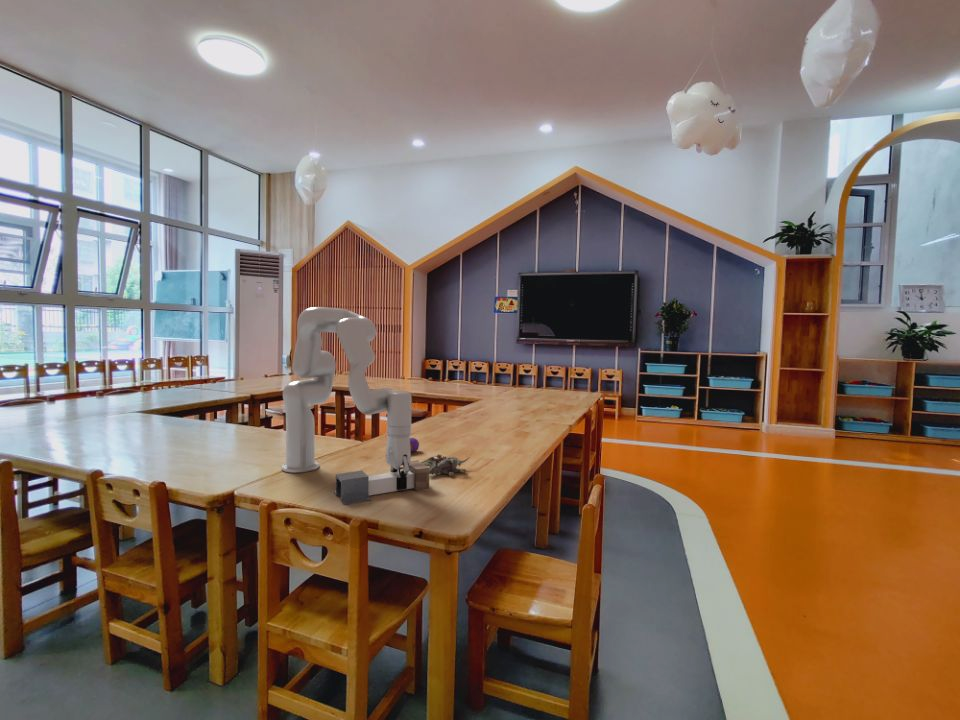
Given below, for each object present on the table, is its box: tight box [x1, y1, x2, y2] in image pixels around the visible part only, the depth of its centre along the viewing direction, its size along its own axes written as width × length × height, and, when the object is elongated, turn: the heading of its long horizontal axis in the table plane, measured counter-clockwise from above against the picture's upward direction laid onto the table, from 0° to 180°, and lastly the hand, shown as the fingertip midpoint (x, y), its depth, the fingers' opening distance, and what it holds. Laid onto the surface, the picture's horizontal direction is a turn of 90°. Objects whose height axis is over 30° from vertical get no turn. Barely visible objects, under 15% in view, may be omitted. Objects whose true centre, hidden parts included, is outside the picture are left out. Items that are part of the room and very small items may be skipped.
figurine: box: [420, 454, 470, 477], centre depth 171 cm, size 20×6×17 cm
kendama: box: [410, 437, 420, 453], centre depth 189 cm, size 6×6×20 cm
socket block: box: [409, 460, 430, 492], centre depth 154 cm, size 9×4×7 cm, turn 31°
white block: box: [368, 470, 414, 497], centre depth 149 cm, size 5×18×5 cm, turn 121°
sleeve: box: [333, 470, 372, 506], centre depth 143 cm, size 11×8×7 cm
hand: (398, 486), depth 151 cm, fingers closed on white block, 4 cm apart
